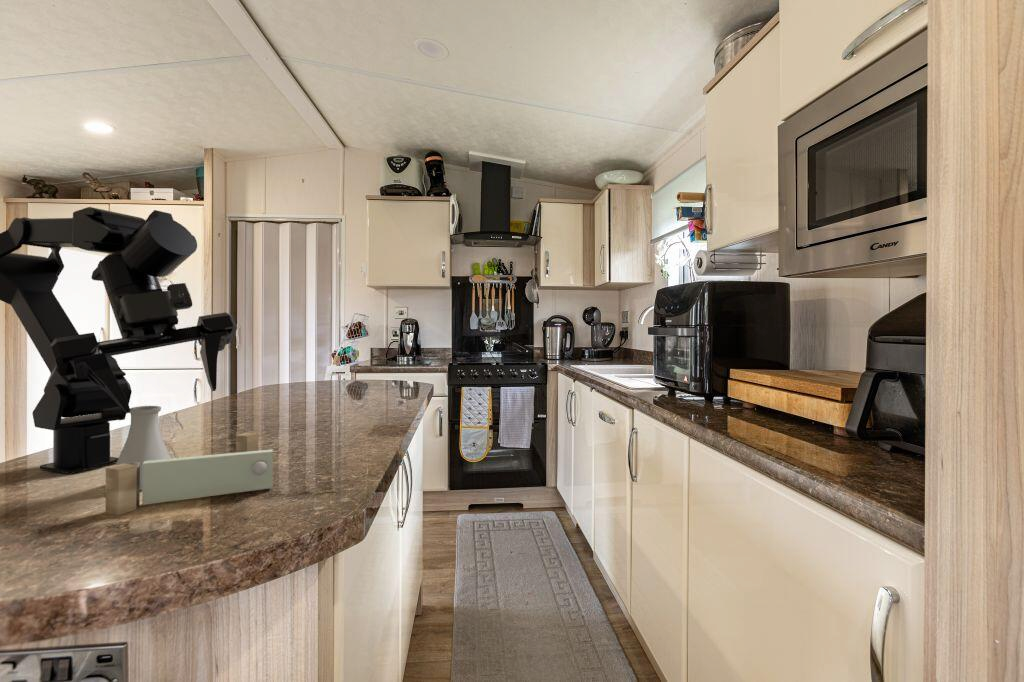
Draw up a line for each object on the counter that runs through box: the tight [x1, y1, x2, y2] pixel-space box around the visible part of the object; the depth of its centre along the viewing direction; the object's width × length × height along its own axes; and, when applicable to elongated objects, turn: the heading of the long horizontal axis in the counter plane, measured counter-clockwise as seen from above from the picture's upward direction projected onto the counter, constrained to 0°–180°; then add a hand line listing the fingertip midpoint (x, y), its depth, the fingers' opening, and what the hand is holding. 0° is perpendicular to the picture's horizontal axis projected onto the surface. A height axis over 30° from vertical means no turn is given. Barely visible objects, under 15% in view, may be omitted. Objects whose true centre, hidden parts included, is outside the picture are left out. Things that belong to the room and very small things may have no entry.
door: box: [141, 448, 274, 505], centre depth 55 cm, size 2×13×5 cm, turn 119°
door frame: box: [105, 431, 259, 516], centre depth 59 cm, size 2×19×5 cm, turn 164°
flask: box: [115, 405, 172, 491], centre depth 60 cm, size 7×7×10 cm
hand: (173, 400), depth 59 cm, fingers open, 9 cm apart
